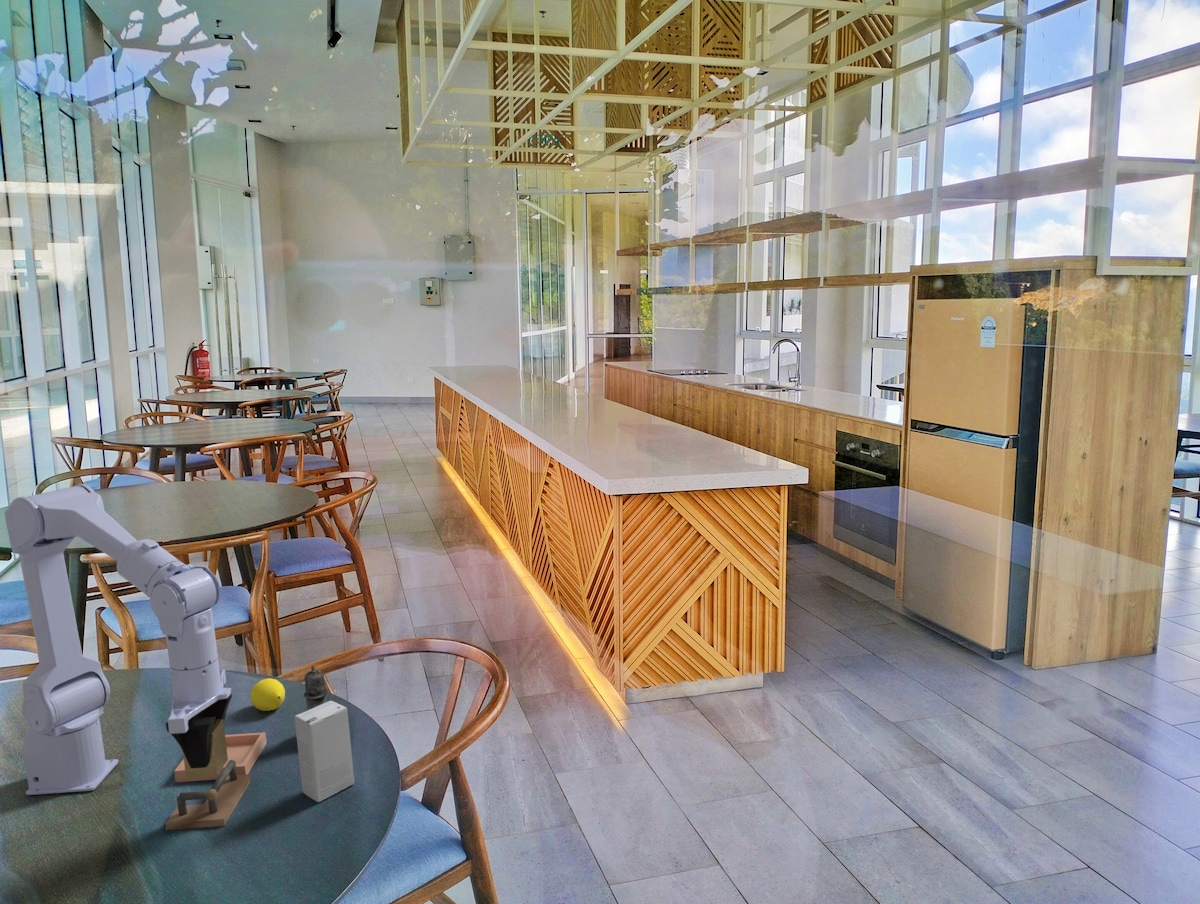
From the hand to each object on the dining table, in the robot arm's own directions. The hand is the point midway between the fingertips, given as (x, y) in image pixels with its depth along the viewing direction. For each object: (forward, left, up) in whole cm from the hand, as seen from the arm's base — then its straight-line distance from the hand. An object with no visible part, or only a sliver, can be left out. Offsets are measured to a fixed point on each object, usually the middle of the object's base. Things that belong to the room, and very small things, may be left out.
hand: (206, 757), depth 115 cm
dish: (-4, +15, -9) cm, 18 cm away
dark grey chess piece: (+9, +21, -9) cm, 25 cm away
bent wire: (-2, +4, -9) cm, 10 cm away
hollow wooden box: (0, 0, -2) cm, 2 cm away
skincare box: (+14, +5, -9) cm, 18 cm away
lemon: (-2, +32, -9) cm, 33 cm away
